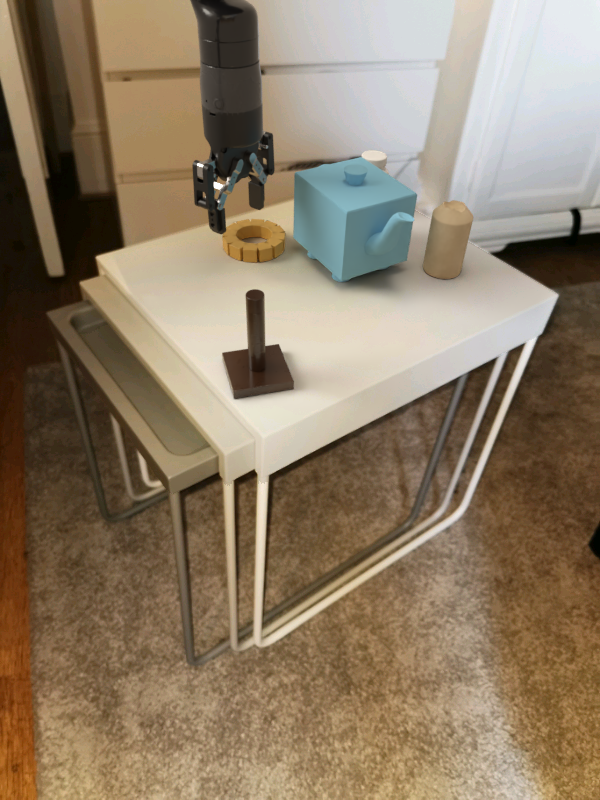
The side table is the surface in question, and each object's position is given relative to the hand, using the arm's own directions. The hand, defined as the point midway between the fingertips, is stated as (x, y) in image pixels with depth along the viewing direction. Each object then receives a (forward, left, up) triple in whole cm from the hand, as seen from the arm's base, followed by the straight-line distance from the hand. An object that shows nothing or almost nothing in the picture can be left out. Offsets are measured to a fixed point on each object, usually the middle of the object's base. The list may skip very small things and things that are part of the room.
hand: (238, 219), depth 90 cm
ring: (+3, +2, -6) cm, 7 cm away
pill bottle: (+24, +10, -6) cm, 26 cm away
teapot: (+16, -6, -6) cm, 18 cm away
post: (-3, -26, -6) cm, 27 cm away
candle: (+28, -10, -6) cm, 30 cm away
